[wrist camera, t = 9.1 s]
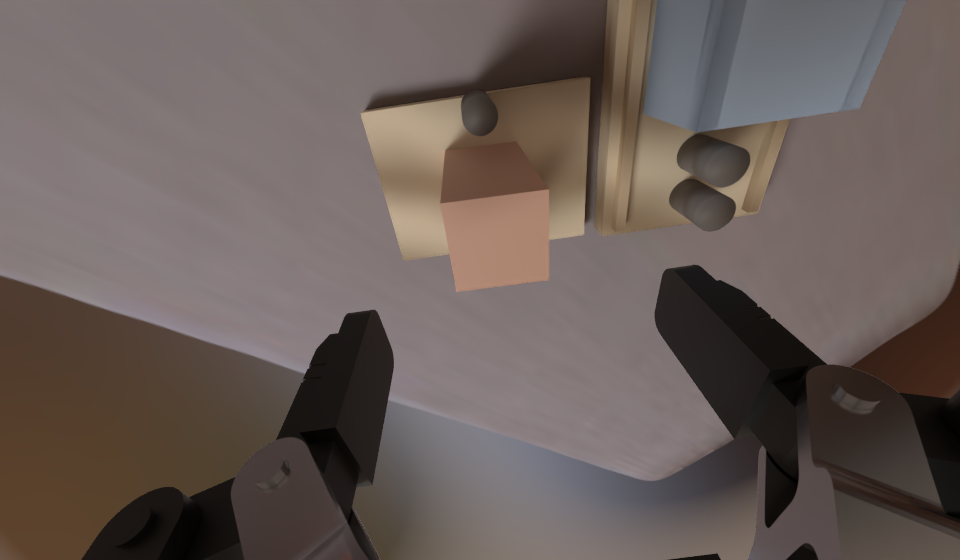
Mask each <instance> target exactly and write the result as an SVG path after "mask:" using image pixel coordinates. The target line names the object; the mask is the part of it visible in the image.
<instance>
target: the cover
mask: <svg viewBox="0 0 960 560" xmlns="http://www.w3.org/2000/svg"><path fill="white" fill-rule="evenodd" d="M906 1H907V0H657V6H656V14H655V22H654V30H653V39H652V47H651V55H650V63H649V71H648V79H647V88H646V96H645V104H644V112H643V114H644V115H647V116H650V117H653V118H656V119H659V120H662V121H665V122H668V123H671V124H673V125H676V126H679V127H682V128H685V129H688V130H691V131H694V132H697V133H698V132H704V131H711V130H718V129H725V128H731V127H738V126H745V125H752V124H758V123H765V122H772V121H778V120H785V119H792V118H799V117H805V116H812V115H819V114H826V113H832V112H839V111H846V110H853V109H859V108H860V106H861V104H862V101H863V99H864V97H865V94H866V92H867V90H868V88H869V85H870V83H871V81H872V78H873V76H874V74H875V72H876V69H877V67H878V65H879V62H880V60H881V58H882V56H883V53H884V51H885V49H886V46H887V44H888V42H889V39H890V37H891V35H892V33H893V30H894V28H895V26H896V23H897V21H898V19H899V17H900V14H901V12H902V10H903V7H904V5H905V3H906Z"/></svg>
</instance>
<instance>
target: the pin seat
mask: <svg viewBox="0 0 960 560" xmlns="http://www.w3.org/2000/svg"><path fill="white" fill-rule="evenodd" d="M590 79H591V78H589V77H579V78H572V79H566V80H559V81H553V82H546V83H540V84H533V85H526V86H520V87H513V88H507V89H500V90H494V91H487V92H484V91H483V90H480V89H472V90H470V91H468V92H467V93H466V94H465V95H461V96H454V97H448V98H441V99H435V100H428V101H422V102H415V103H408V104H402V105H395V106H389V107H382V108H376V109H369V110H364V111H363V112H361V116H362V120H363V123H364V127H365V130H366V133H367V137H368V140H369V144H370V147H371V151H372V154H373V157H374V161H375V164H376V168H377V171H378V175H379V178H380V181H381V185H382V188H383V192H384V195H385V198H386V202H387V205H388V209H389V212H390V216H391V219H392V222H393V226H394V229H395V233H396V236H397V239H398V243H399V246H400V250H401V253H402V257H403V260H404V261H405V260H412V259H419V258H426V257H433V256H440V255H447V254H449V248H448V243H447V238H446V232H445V227H444V221H443V216H442V211H441V205H440V200H441V189H442V178H443V167H444V156H445V151H447V150H454V149H462V148H469V147H477V146H484V145H491V144H499V143H506V142H514V141H517V143H518V144H519V146H520V147H521V149H522V150H523V152H524V153H525V155H526V156H527V158H528V159H529V161H530V162H531V164H532V165H533V166H534V168H535V169H536V171H537V172H538V174H539V175H540V177H541V178H542V180H543V181H544V183H545V184H546V186H547V187H548V189H549V240H551V239H558V238H565V237H572V236H579V235H584V219H585V196H586V172H587V149H588V126H589V102H590Z"/></svg>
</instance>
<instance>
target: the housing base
mask: <svg viewBox="0 0 960 560" xmlns="http://www.w3.org/2000/svg"><path fill="white" fill-rule="evenodd" d="M656 6H657V0H607V16H606V32H605V49H604V66H603V83H602V99H601V116H600V133H599V150H598V166H597V183H596V200H595V216H594V227H595V228H596V229H597V231H598V232H599V233H600V235H601V236H606V235H613V234H620V233H627V232H634V231H641V230H648V229H655V228H662V227H668V226H675V225H682V224H689V223H694V224H695V225H697V226H698V227H699V228H701V229H702V230H704V231H715V230H718V229H720V228H722V227H724V226H725V225H726V224H728V223H729V222H730V220H731V219H732V218H733V217H738V216H745V215H752V214H758V212H759V209H760V206H761V203H762V200H763V197H764V194H765V191H766V188H767V185H768V182H769V179H770V177H771V174H772V171H773V168H774V165H775V162H776V159H777V156H778V153H779V150H780V147H781V144H782V141H783V138H784V135H785V133H786V130H787V127H788V124H789V121H790V119H785V120H778V121H772V122H765V123H758V124H752V125H745V126H738V127H731V128H725V129H718V130H711V131H704V132H698V133H697V132H694V131H691V130H688V129H685V128H682V127H679V126H676V125H673V124H671V123H668V122H665V121H662V120H659V119H656V118H653V117H650V116H647V115H644V114H643V112H644V104H645V96H646V88H647V79H648V71H649V63H650V55H651V47H652V39H653V30H654V22H655V14H656Z"/></svg>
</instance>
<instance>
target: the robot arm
mask: <svg viewBox="0 0 960 560" xmlns="http://www.w3.org/2000/svg"><path fill="white" fill-rule="evenodd" d="M655 322H656V326H657V329H658V331H659V333H660V334H661V336H662V337H663V339H664V340H665V342H666V343H667V344H668V346H669V347H670V349H671V350H672V351H673V353H674V354H675V356H676V357H677V359H678V360H679V361H680V363H681V364H682V366H683V367H684V368H685V370H686V371H687V373H688V374H689V375H690V377H691V378H692V380H693V381H694V383H695V384H696V385H697V387H698V388H699V390H700V391H701V392H702V394H703V395H704V397H705V398H706V400H707V401H708V402H709V404H710V405H711V407H712V408H713V409H714V411H715V412H716V414H717V415H718V416H719V418H720V419H721V421H722V422H723V424H724V425H725V426H726V428H727V429H728V431H729V432H730V433H731V435H732V436H733V438H734V439H739V438H746V437H754V436H756V437H757V438H758V440H759V441H760V442H761V444H762V445H763V446H762V447H761V449H760V451H759V463H758V489H757V515H756V516H757V517H756V533H755V539H754V543H753V546H752V548H751V551H750V554H749V558H748V560H960V390H959V391H957V392H956V394H954V395H953V396H952V397H951V398H950V399H947V398H939V397H930V396H922V395H914V394H906V393H898V392H897V391H896V390H894V389H893V388H892V387H891V386H889V385H888V384H886V383H885V382H883V381H881V380H880V379H878V378H876V377H874V376H872V375H870V374H867V373H865V372H862V371H860V370H857V369H853V368H850V367H846V366H840V365H827V364H826V363H825V362H824V361H822V360H821V359H820V358H819V357H818V356H817V355H816V354H814V353H813V352H812V351H811V350H810V349H809V348H807V347H806V346H805V345H804V344H803V343H802V342H800V341H799V340H798V339H797V338H796V337H795V336H794V335H792V334H791V333H790V332H789V331H788V330H787V329H785V328H784V327H783V326H782V325H781V324H780V323H778V322H777V321H776V320H775V319H771V317H770V315H769V314H768V313H767V312H766V311H765V310H763V309H762V308H761V307H758V306H757V304H756V303H755V302H754V301H753V300H752V299H751V298H750V297H748V296H747V295H746V294H745V293H744V292H743V291H741V290H739V289H737V288H735V287H733V286H731V285H729V284H727V283H725V282H723V281H721V280H718V281H716V280H715V279H714V278H713V277H712V276H711V275H709V274H708V273H707V272H706V271H705V270H704V269H703V268H702V267H700V266H698V265H691V266H684V267H677V268H670V269H666V270H665V271H664V273H663V275H662V280H661V284H660V289H659V294H658V299H657V304H656V308H655ZM309 367H310V368H309V369H307V372H306V374H305V376H304V378H303V381H304V382H303V383H301V385H300V387H299V390H298V392H297V394H296V396H295V399H294V401H293V404H292V406H291V408H290V410H289V412H288V415H287V417H286V419H285V421H284V423H283V426H282V428H281V430H280V432H279V435H278V437H277V439H276V440H275V441H273V442H271V443H269V444H267V445H265V446H263V447H262V448H261V449H259V450H258V451H257V452H255V453H254V454H253V455H252V456H251V457H250V458H249V459H248V460H247V461H246V462H245V463H244V465H243V466H242V467H241V469H240V470H239V472H238V473H237V475H236V477H234V478H232V479H230V480H228V481H225V482H223V483H221V484H218V485H216V486H214V487H212V488H209V489H207V490H205V491H202V492H200V493H198V494H195V495H193V496H191V497H187V496H186V495H185V494H183V493H182V492H181V491H179V490H178V489H176V488H174V487H163V488H159V489H155V490H153V491H150V492H148V493H146V494H144V495H142V496H140V497H139V498H137V499H135V500H134V501H132V502H131V503H130V504H128V505H127V506H126V507H124V508H123V509H122V510H121V511H120V512H118V513H117V514H116V515H115V516H114V517H113V518H112V519H111V520H110V521H109V522H108V523H107V525H106V526H105V527H104V528H103V529H102V531H101V532H100V533H99V535H98V536H97V537H96V539H95V540H94V542H93V543H92V545H91V546H90V548H89V549H88V551H87V552H86V554H85V555H84V557H83V558H82V560H380V558H379V556H378V554H377V552H376V550H375V548H374V546H373V544H372V542H371V540H370V538H369V536H368V534H367V532H366V530H365V529H364V526H363V525H362V523H361V521H360V519H359V517H358V515H357V513H356V511H355V509H354V507H353V506H352V504H353V499H354V494H355V490H356V487H361V486H369V485H372V484H373V479H374V473H375V467H376V462H377V457H378V451H379V446H380V440H381V435H382V429H383V424H384V418H385V413H386V407H387V402H388V396H389V391H390V385H391V380H392V374H393V368H394V358H393V352H392V348H391V345H390V343H389V340H388V338H387V335H386V332H385V330H384V327H383V325H382V322H381V320H380V317H379V315H378V313H377V311H376V310H369V311H362V312H355V313H348V314H346V316H345V317H344V320H343V322H342V325H341V327H340V330H339V333H337V334H330V335H329V336H328V337H327V338H326V339H325V340H324V342H323V343H322V344H321V345H320V346H319V347H318V348H317V349H316V351H315V354H314V356H313V358H312V360H311V363H310V365H309ZM671 560H721V559H720V558H719V556H718V554H711V555H702V556H694V557H686V558H678V559H671Z"/></svg>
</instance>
